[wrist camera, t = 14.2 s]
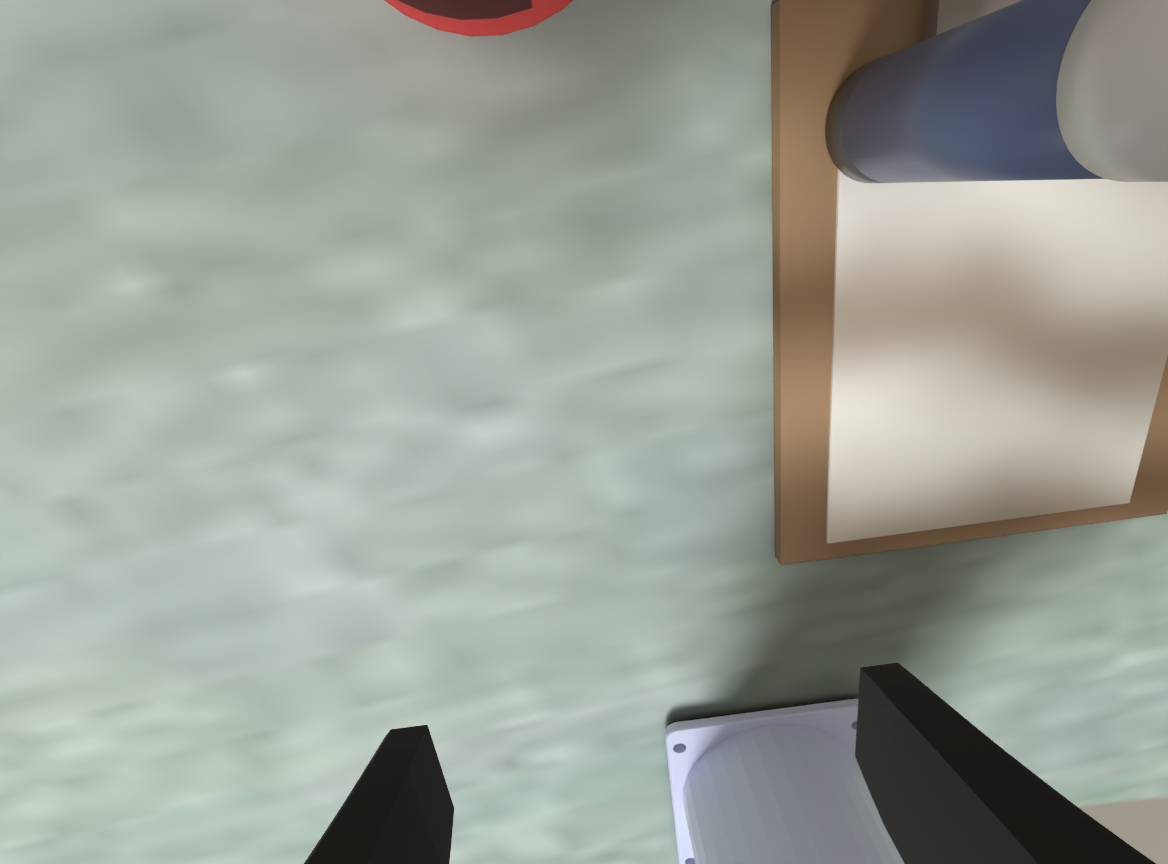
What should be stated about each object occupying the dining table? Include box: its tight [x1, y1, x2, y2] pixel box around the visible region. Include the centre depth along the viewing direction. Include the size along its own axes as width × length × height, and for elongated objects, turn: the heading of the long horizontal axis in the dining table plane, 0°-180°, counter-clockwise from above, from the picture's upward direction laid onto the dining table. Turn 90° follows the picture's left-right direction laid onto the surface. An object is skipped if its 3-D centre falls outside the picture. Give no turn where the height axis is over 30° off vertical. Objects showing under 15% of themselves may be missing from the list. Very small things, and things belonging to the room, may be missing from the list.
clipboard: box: [771, 0, 1168, 565], centre depth 17 cm, size 16×13×1 cm
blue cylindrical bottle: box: [825, 0, 1168, 183], centre depth 11 cm, size 3×3×8 cm
